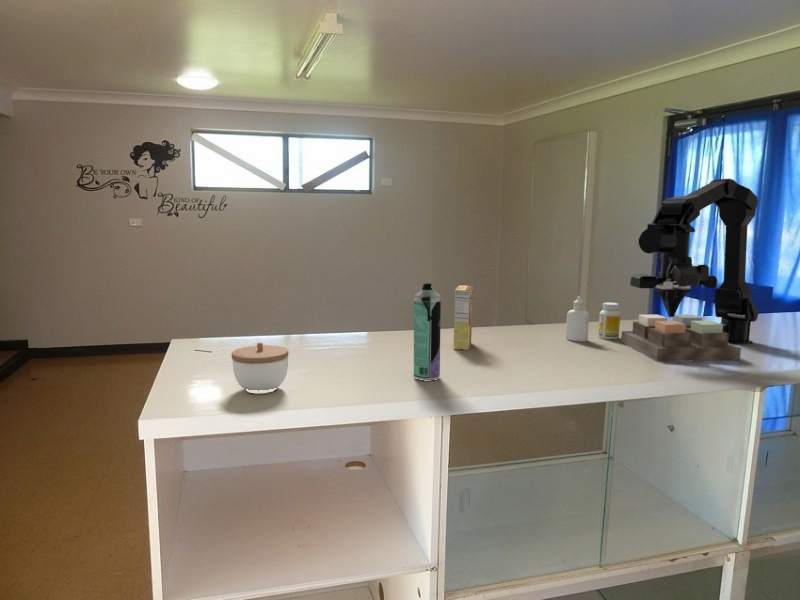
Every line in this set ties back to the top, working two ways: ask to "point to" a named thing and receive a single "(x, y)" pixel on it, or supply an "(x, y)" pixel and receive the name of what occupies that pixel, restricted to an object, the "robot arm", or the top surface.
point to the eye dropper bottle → (577, 323)
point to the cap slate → (686, 318)
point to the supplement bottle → (609, 321)
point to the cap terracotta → (670, 327)
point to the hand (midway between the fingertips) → (670, 316)
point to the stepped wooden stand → (680, 344)
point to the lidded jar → (260, 366)
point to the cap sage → (706, 326)
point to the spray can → (427, 333)
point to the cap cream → (650, 319)
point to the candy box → (463, 317)
